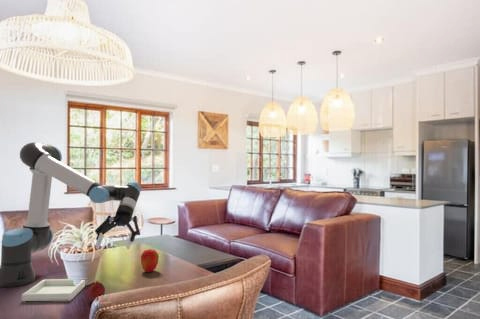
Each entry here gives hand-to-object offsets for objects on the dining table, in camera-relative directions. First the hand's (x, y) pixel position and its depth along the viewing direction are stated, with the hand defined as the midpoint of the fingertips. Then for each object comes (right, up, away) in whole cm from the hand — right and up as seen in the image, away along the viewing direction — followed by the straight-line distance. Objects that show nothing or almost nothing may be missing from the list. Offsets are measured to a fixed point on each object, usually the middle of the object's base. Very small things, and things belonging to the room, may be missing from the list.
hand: (112, 247), depth 144 cm
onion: (-1, -18, -12) cm, 22 cm away
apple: (+9, -20, +27) cm, 35 cm away
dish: (-21, -18, -6) cm, 28 cm away
